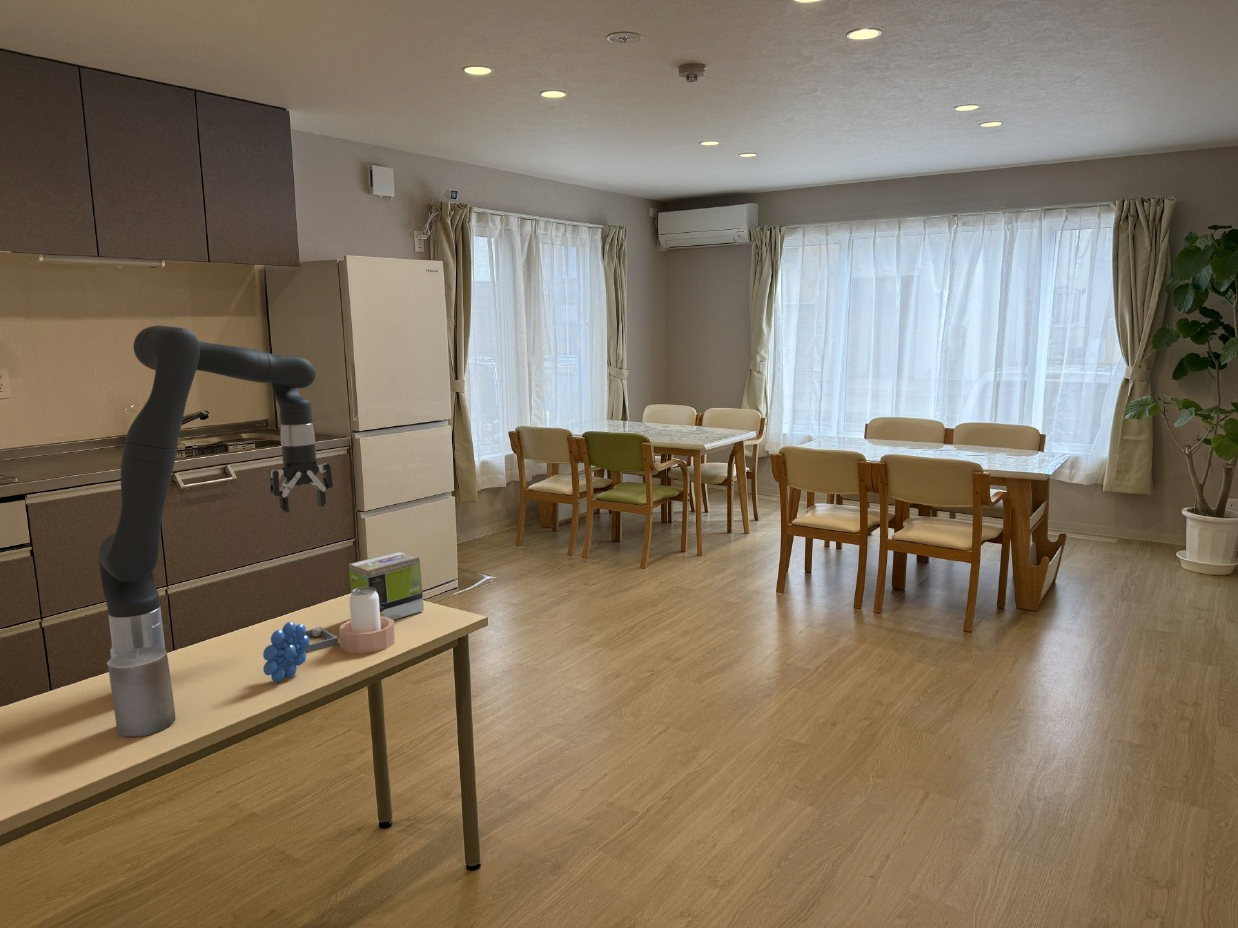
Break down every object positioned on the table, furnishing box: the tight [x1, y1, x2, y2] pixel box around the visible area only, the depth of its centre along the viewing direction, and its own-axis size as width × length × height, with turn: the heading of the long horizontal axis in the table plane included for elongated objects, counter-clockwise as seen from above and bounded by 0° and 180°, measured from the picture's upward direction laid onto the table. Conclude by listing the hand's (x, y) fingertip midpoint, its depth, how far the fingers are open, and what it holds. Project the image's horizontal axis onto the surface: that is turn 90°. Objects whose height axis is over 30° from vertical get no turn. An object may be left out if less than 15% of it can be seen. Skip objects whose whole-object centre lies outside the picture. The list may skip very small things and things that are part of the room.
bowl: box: [339, 616, 396, 655], centre depth 196 cm, size 12×12×4 cm
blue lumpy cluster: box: [262, 620, 311, 683], centre depth 177 cm, size 12×7×12 cm, turn 151°
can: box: [349, 587, 381, 633], centre depth 196 cm, size 6×6×12 cm
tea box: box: [348, 551, 425, 621], centre depth 215 cm, size 15×10×15 cm, turn 135°
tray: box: [302, 626, 339, 654], centre depth 197 cm, size 10×10×2 cm
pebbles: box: [312, 627, 322, 638], centre depth 197 cm, size 9×9×2 cm
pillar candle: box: [106, 647, 176, 738], centre depth 156 cm, size 10×10×15 cm
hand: (303, 509), depth 202 cm, fingers open, 8 cm apart
